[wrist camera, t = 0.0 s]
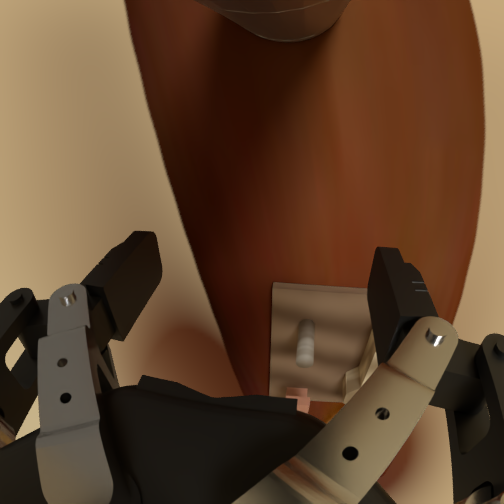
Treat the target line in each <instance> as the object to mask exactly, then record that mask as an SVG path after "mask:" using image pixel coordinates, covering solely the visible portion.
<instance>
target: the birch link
mask: <svg viewBox="0 0 504 504" xmlns="http://www.w3.org/2000/svg"><path fill="white" fill-rule="evenodd" d="M377 367H378V362H377V355H376V348H375V342H374V336H373V329H372V331H371V334H370V337H369V340H368V343H367V346H366V349H365V351H364V354H363V357H362V360H361V362H360V365H359V366H358V367H356V368H354V369H352V370H350V371H347V372H346V373H345V376H344V379H343V403H344V404H346V403H347V402H348V401H349V400H350V399H351V398H352V397H353V396H354V394H355V393H356V392H357V391H358V390H359V389H360V388H361V386H362V385H363V384H364V383H365V382H366V381H367V379H368V378H369V377H370V376H371V374H372V373H373V372H374V371H375V370H376V368H377Z"/></svg>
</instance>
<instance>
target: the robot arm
mask: <svg viewBox="0 0 504 504" xmlns="http://www.w3.org/2000/svg"><path fill="white" fill-rule="evenodd" d="M195 1H197V2H199V3H201V4H203V5H205V6H206V7H208V8H210V9H212V10H214V11H216V12H218V13H219V14H221V15H223V16H225V17H226V18H228V19H230V20H232V21H233V22H235V23H237V24H238V25H240V26H242V27H243V28H245V29H247V30H248V31H250V32H252V33H254V34H255V35H257V36H260V37H262V38H265V39H268V40H272V41H278V42H300V41H304V40H308V39H311V38H313V37H316V36H318V35H320V34H322V33H323V32H325V31H326V30H327V29H329V28H330V27H331V26H332V25H333V24H334V23H335V22H336V20H337V19H338V18H339V16H340V15H341V13H342V12H343V11H344V9H345V8H346V6H347V5H348V3H349V2H350V0H195ZM161 278H162V263H161V258H160V253H159V248H158V242H157V237H156V235H155V233H154V232H151V231H134V232H133V233H132V234H131V235H130V236H129V237H128V238H127V239H126V240H125V241H124V242H123V243H121V244H119V245H117V246H116V247H114V248H112V249H111V250H110V251H109V252H108V253H107V254H106V256H105V257H104V258H103V259H102V260H101V261H100V262H99V264H98V265H96V266H95V268H93V270H92V271H91V272H90V273H89V274H88V275H87V276H86V277H85V279H84V280H83V281H82V282H81V283H80V284H68V285H65V286H63V287H61V288H59V289H58V290H56V291H55V292H54V293H53V294H52V295H51V297H50V299H47V300H36V298H35V296H34V294H33V292H32V290H31V289H29V288H20V289H17V290H15V291H13V292H12V293H10V294H9V295H8V296H7V297H6V298H5V299H4V300H3V301H2V302H1V303H0V504H396V503H395V501H394V500H393V499H392V498H391V497H390V496H389V495H388V493H386V491H385V490H384V489H383V488H382V487H381V485H380V484H379V483H378V482H377V480H378V478H379V477H380V476H381V474H382V473H383V472H384V471H385V469H386V468H387V467H388V465H389V464H390V462H391V461H392V460H393V458H394V457H395V456H396V454H397V453H398V451H399V450H400V448H401V447H402V445H403V444H404V442H405V441H406V440H407V438H408V436H409V435H410V433H411V432H412V430H413V429H414V427H415V426H416V424H417V422H418V421H419V419H420V417H421V416H422V414H423V412H424V411H425V409H426V407H427V406H428V405H432V406H436V407H440V408H444V409H445V412H446V418H447V426H448V432H449V442H450V451H451V462H452V476H453V500H454V504H504V336H503V335H500V334H489V335H488V336H486V337H485V339H484V340H483V342H482V344H481V345H479V344H475V343H471V342H467V341H463V340H460V339H458V334H457V332H456V330H455V329H454V327H453V326H452V325H451V324H450V323H448V322H447V321H445V320H443V319H441V318H439V317H438V314H437V312H436V309H435V307H434V304H433V302H432V299H431V297H430V295H429V292H427V288H426V285H425V284H424V281H423V278H422V276H421V274H420V272H419V271H418V270H417V269H416V268H415V267H414V266H413V265H412V264H411V263H404V261H403V259H402V256H401V254H400V251H399V249H398V248H389V247H377V248H376V250H375V254H374V259H373V264H372V268H371V273H370V277H369V282H368V288H367V301H368V307H369V312H370V318H371V324H372V329H373V336H374V342H375V348H376V355H377V362H378V367H377V368H376V370H375V371H374V372H373V373H372V374H371V376H370V377H369V378H368V379H367V381H366V382H365V383H364V384H363V385H362V386H361V388H360V389H359V390H358V391H357V392H356V393H355V394H354V396H353V397H352V398H351V399H350V400H349V401H348V402H347V403H346V405H345V406H344V407H343V408H342V409H341V410H340V411H339V412H338V413H337V414H336V415H335V416H334V418H333V419H332V420H331V421H330V422H329V423H328V424H325V423H324V422H323V421H321V420H319V419H317V418H316V417H314V416H312V415H309V414H307V413H305V412H302V411H298V410H297V401H298V399H295V398H283V397H273V396H263V395H249V396H237V397H221V398H214V397H210V396H207V395H205V394H202V393H200V392H197V391H195V390H193V389H191V388H188V387H186V386H184V385H182V384H180V383H177V382H173V381H168V380H164V379H159V378H154V377H150V376H146V375H142V377H141V379H140V381H139V383H138V385H131V386H124V387H120V386H119V383H118V379H117V375H116V371H115V367H114V363H113V358H112V354H111V350H110V347H109V345H108V343H109V341H110V339H115V340H118V341H124V340H125V338H126V336H127V335H128V333H129V331H130V330H131V328H132V326H133V325H134V323H135V321H136V320H137V318H138V316H139V315H140V313H141V312H142V310H143V308H144V307H145V305H146V304H147V302H148V300H149V299H150V297H151V296H152V294H153V292H154V291H155V289H156V288H157V286H158V285H159V283H160V281H161ZM17 337H18V338H19V339H20V341H21V343H22V344H23V346H24V348H25V350H24V352H23V353H22V355H21V356H20V358H19V359H18V360H17V362H16V364H15V365H14V367H13V368H12V370H11V371H10V370H9V369H8V368H7V366H6V363H5V356H6V353H7V351H8V350H9V348H10V347H11V345H12V344H13V343H14V341H15V340H16V339H17ZM37 396H38V401H39V417H40V428H39V429H37V430H35V431H33V432H31V433H29V434H27V435H25V436H24V437H21V438H19V439H17V440H15V437H16V435H17V433H18V431H19V429H20V427H21V426H22V423H23V422H24V420H25V418H26V416H27V414H28V412H29V410H30V408H31V406H32V405H33V403H34V401H35V399H36V397H37ZM487 407H488V408H487ZM488 412H489V413H488ZM489 416H490V417H489Z"/></svg>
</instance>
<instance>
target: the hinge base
mask: <svg viewBox="0 0 504 504" xmlns="http://www.w3.org/2000/svg"><path fill="white" fill-rule="evenodd" d="M429 295H430V294H429ZM371 331H372V324H371V318H370V312H369V307H368V301H367V288H351V287H335V286H320V285H306V284H292V283H279V282H273V288H272V328H271V361H270V389H269V396H273V397H283V398H286V390H287V387H292V388H306V389H308V390H307V397H310V401H327V402H343V379H344V376H345V373H346V372H347V371H350V370H352V369H354V368H356V367H358V366H359V365H360V362H361V360H362V357H363V354H364V351H365V349H366V346H367V343H368V340H369V337H370V334H371Z"/></svg>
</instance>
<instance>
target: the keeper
mask: <svg viewBox="0 0 504 504" xmlns="http://www.w3.org/2000/svg"><path fill="white" fill-rule="evenodd" d="M307 390H308V389H306V388H292V387H287V390H286V398H295V399H298V401H297V410H298V411H302V412H305V413H308V409H309V406H310V397H307Z"/></svg>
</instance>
